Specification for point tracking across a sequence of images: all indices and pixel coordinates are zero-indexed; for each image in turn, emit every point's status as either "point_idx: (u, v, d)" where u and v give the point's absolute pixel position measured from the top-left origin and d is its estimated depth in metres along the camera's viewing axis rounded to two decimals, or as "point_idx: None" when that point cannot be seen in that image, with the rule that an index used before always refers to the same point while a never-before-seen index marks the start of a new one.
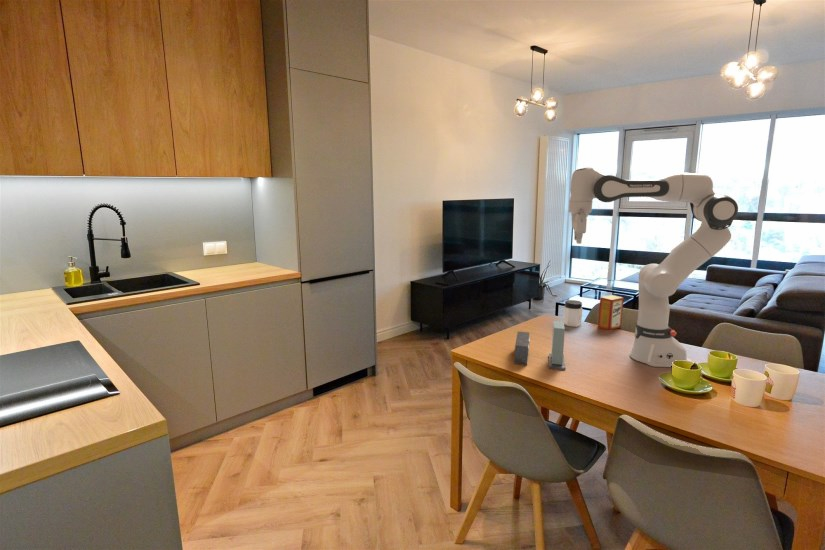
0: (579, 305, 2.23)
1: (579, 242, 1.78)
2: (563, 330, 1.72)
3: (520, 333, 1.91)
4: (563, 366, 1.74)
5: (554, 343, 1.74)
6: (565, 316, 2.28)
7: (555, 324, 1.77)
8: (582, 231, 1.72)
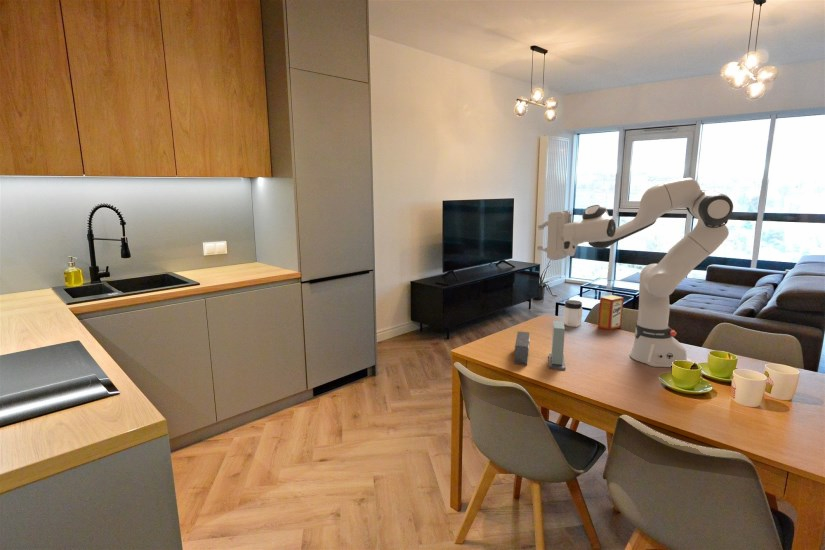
0: (579, 305, 2.23)
1: None
2: (563, 330, 1.72)
3: (520, 333, 1.91)
4: (563, 366, 1.74)
5: (554, 343, 1.74)
6: (565, 316, 2.28)
7: (555, 324, 1.77)
8: None
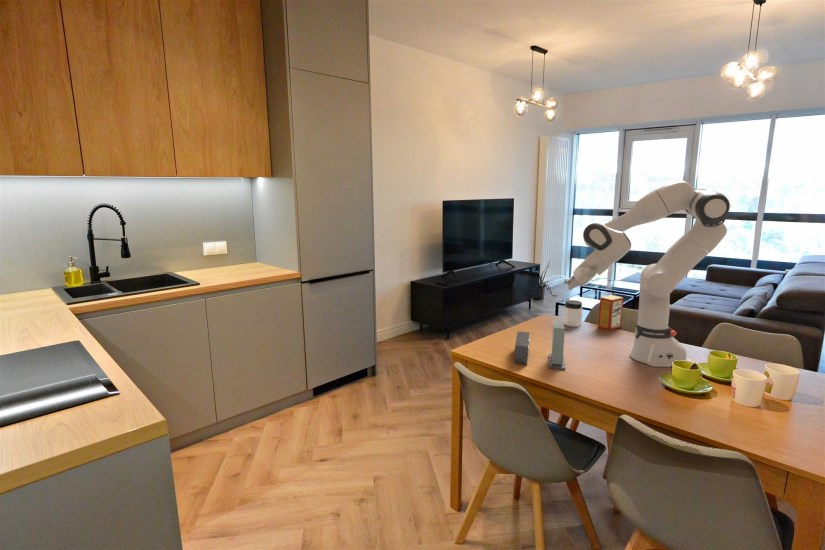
0: (579, 305, 2.23)
1: (569, 288, 1.79)
2: (563, 330, 1.72)
3: (520, 333, 1.91)
4: (563, 366, 1.74)
5: (554, 343, 1.74)
6: (565, 316, 2.28)
7: (555, 324, 1.77)
8: (581, 283, 1.73)
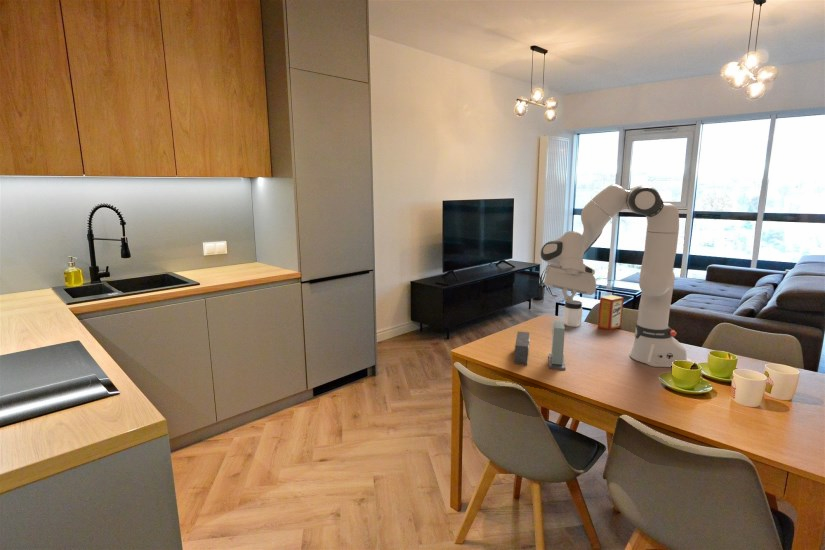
0: (579, 305, 2.23)
1: (565, 298, 1.76)
2: (563, 330, 1.72)
3: (520, 333, 1.91)
4: (563, 366, 1.74)
5: (554, 343, 1.74)
6: (565, 316, 2.28)
7: (555, 324, 1.77)
8: (545, 282, 1.77)
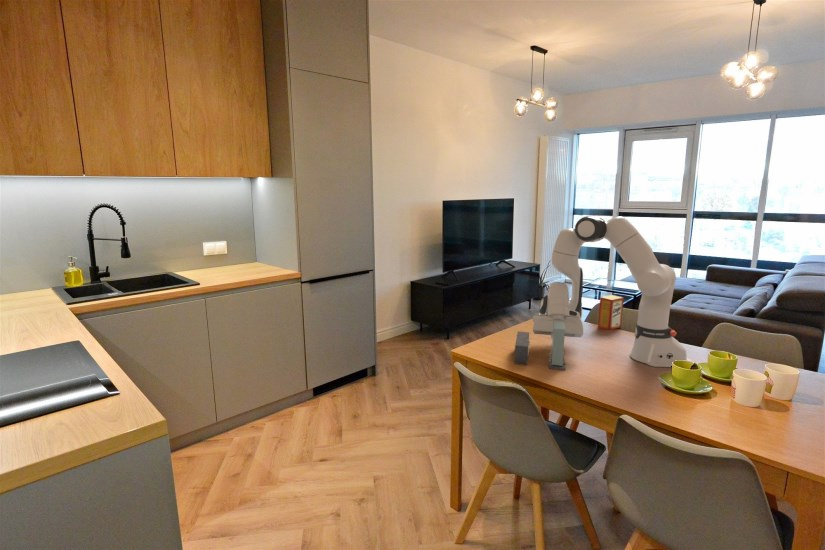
0: None
1: None
2: (563, 331, 1.71)
3: (520, 333, 1.91)
4: (563, 366, 1.74)
5: (554, 344, 1.73)
6: None
7: (555, 325, 1.76)
8: (533, 329, 1.88)
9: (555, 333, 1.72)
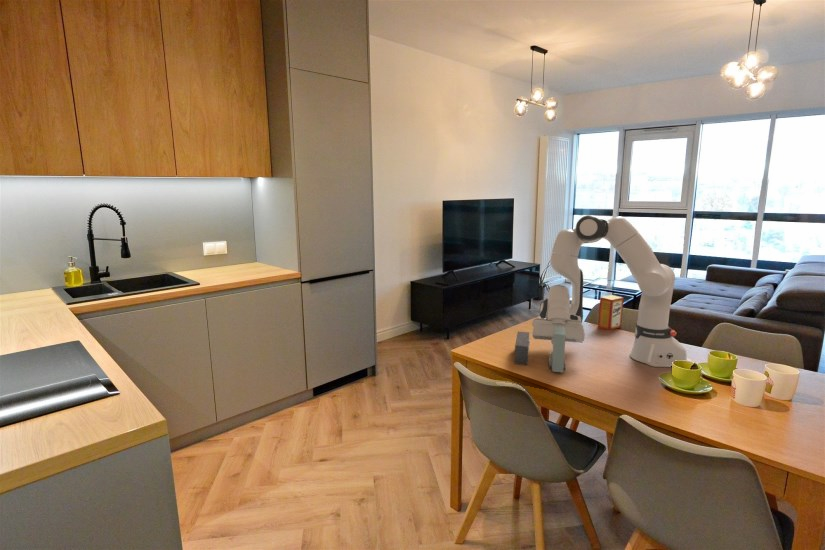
0: None
1: None
2: (564, 336, 1.65)
3: (520, 333, 1.91)
4: None
5: (554, 350, 1.67)
6: None
7: (555, 330, 1.70)
8: None
9: (555, 338, 1.66)
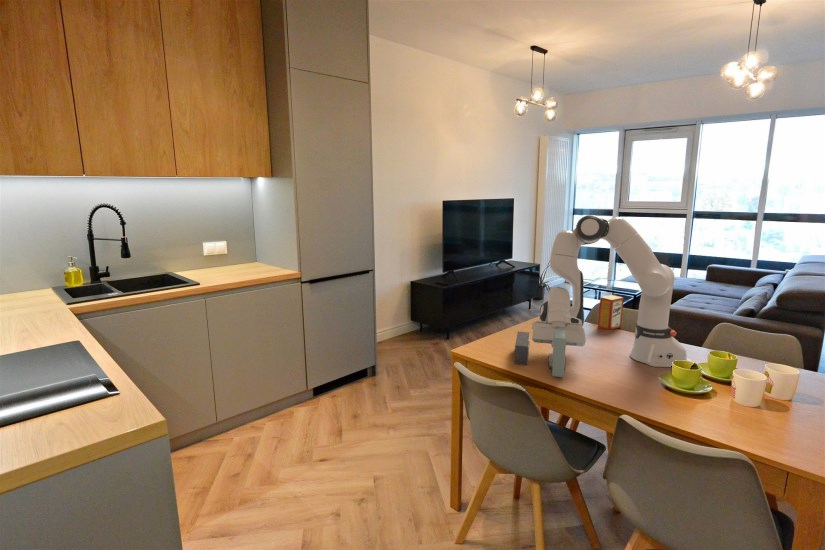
0: None
1: None
2: (564, 340, 1.61)
3: (520, 333, 1.91)
4: None
5: (555, 354, 1.63)
6: None
7: (556, 333, 1.66)
8: (532, 338, 1.78)
9: (556, 342, 1.62)
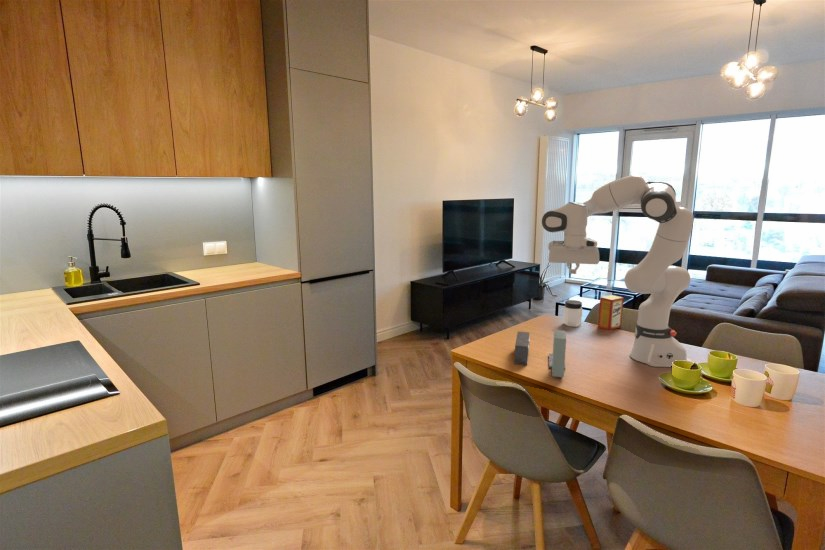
0: (579, 305, 2.23)
1: None
2: (564, 340, 1.61)
3: (520, 333, 1.91)
4: None
5: (555, 354, 1.63)
6: (565, 316, 2.28)
7: (556, 333, 1.66)
8: None
9: (556, 343, 1.62)
